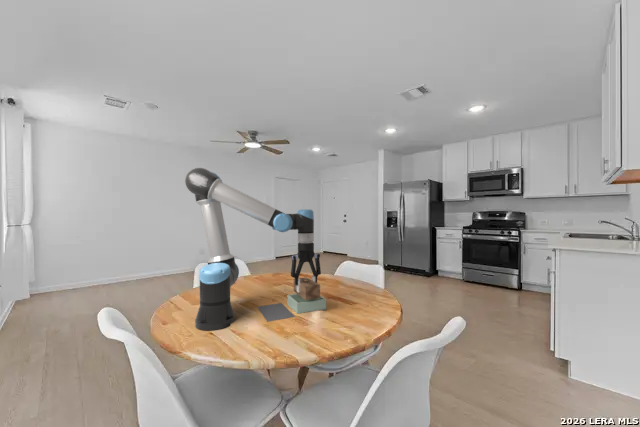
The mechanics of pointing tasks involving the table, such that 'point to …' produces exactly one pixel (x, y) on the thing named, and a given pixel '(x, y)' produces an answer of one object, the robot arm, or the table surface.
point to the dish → (305, 304)
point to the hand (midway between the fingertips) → (306, 290)
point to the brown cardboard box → (307, 289)
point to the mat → (275, 312)
